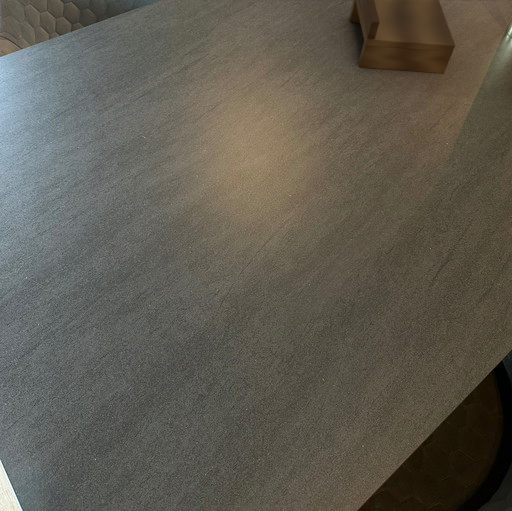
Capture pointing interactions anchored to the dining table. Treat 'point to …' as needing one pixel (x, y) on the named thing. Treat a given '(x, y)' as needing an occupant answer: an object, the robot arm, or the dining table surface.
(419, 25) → the tan wooden box
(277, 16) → the dining table surface
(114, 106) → the dining table surface
